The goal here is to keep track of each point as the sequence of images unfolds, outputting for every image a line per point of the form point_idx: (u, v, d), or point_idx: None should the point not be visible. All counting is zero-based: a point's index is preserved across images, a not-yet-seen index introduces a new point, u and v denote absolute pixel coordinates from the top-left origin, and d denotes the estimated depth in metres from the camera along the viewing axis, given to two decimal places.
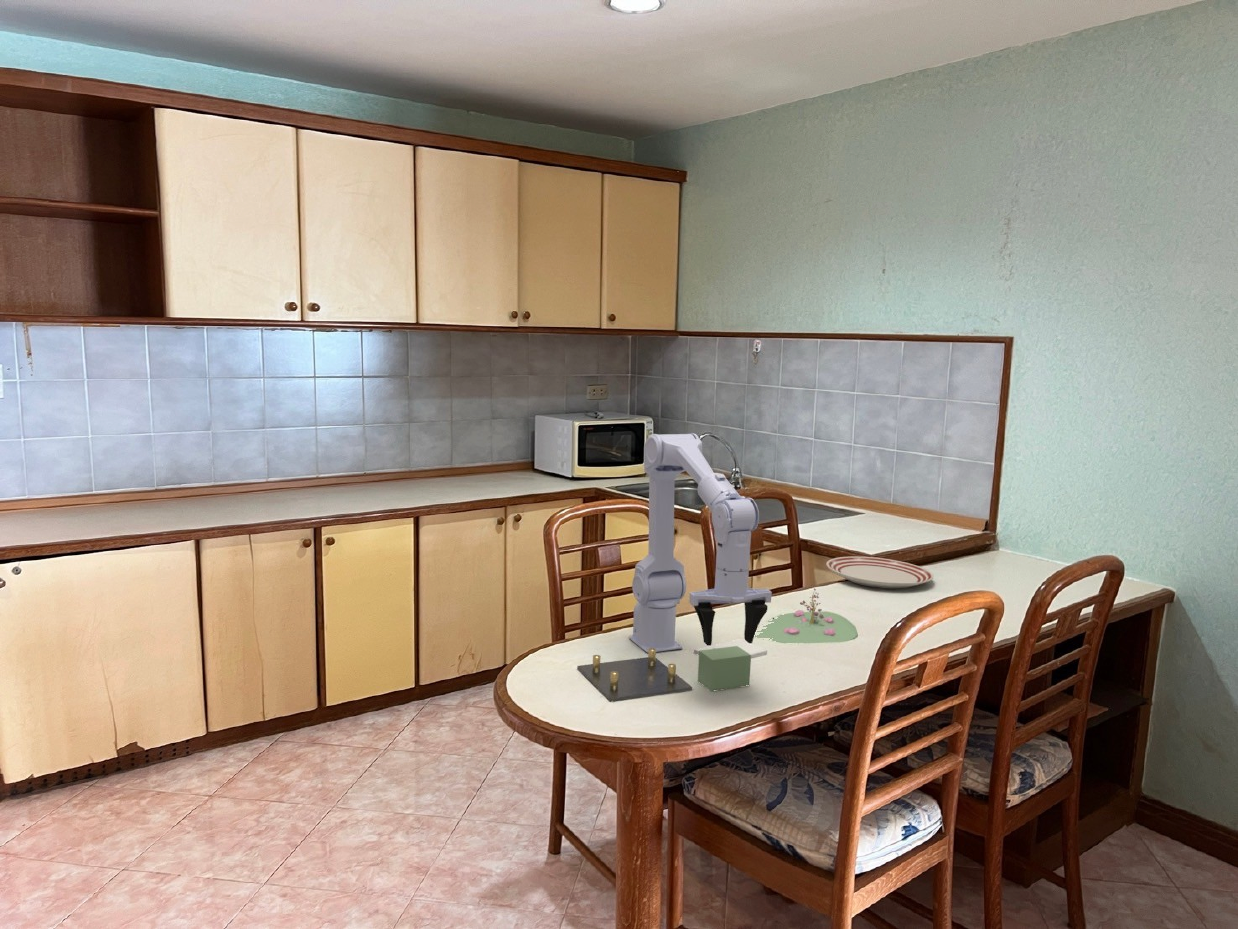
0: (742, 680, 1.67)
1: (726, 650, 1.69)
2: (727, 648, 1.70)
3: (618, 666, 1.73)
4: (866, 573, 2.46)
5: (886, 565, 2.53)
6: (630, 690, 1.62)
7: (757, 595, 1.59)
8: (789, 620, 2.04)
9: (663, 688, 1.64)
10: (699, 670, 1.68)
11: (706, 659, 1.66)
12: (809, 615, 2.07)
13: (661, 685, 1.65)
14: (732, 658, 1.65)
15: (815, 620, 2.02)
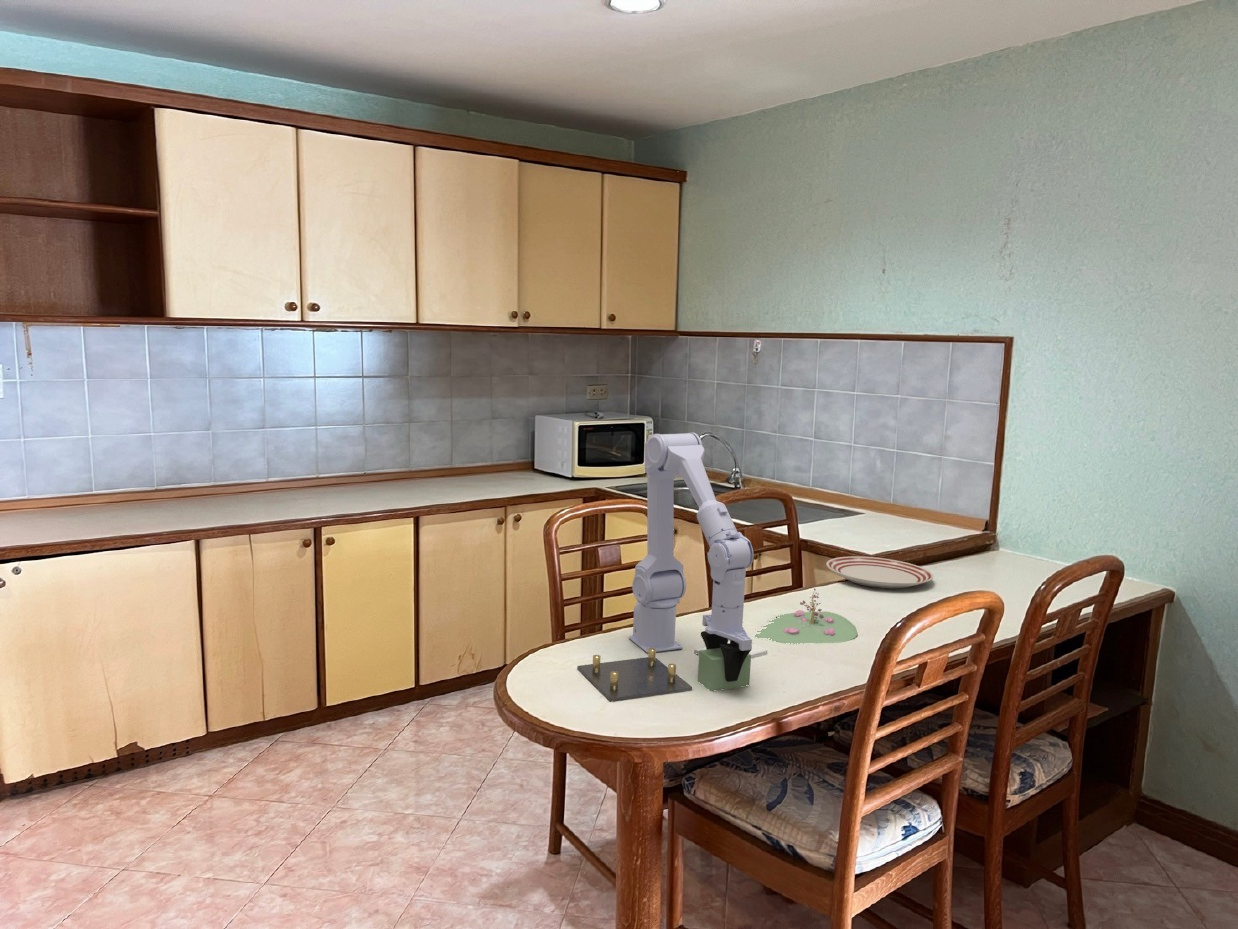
0: (742, 680, 1.67)
1: None
2: None
3: (618, 666, 1.73)
4: (866, 573, 2.46)
5: (886, 565, 2.53)
6: (630, 690, 1.62)
7: (730, 636, 1.62)
8: (789, 620, 2.04)
9: (663, 688, 1.64)
10: (699, 670, 1.68)
11: (706, 659, 1.66)
12: (809, 615, 2.07)
13: (661, 685, 1.65)
14: None
15: (815, 620, 2.02)
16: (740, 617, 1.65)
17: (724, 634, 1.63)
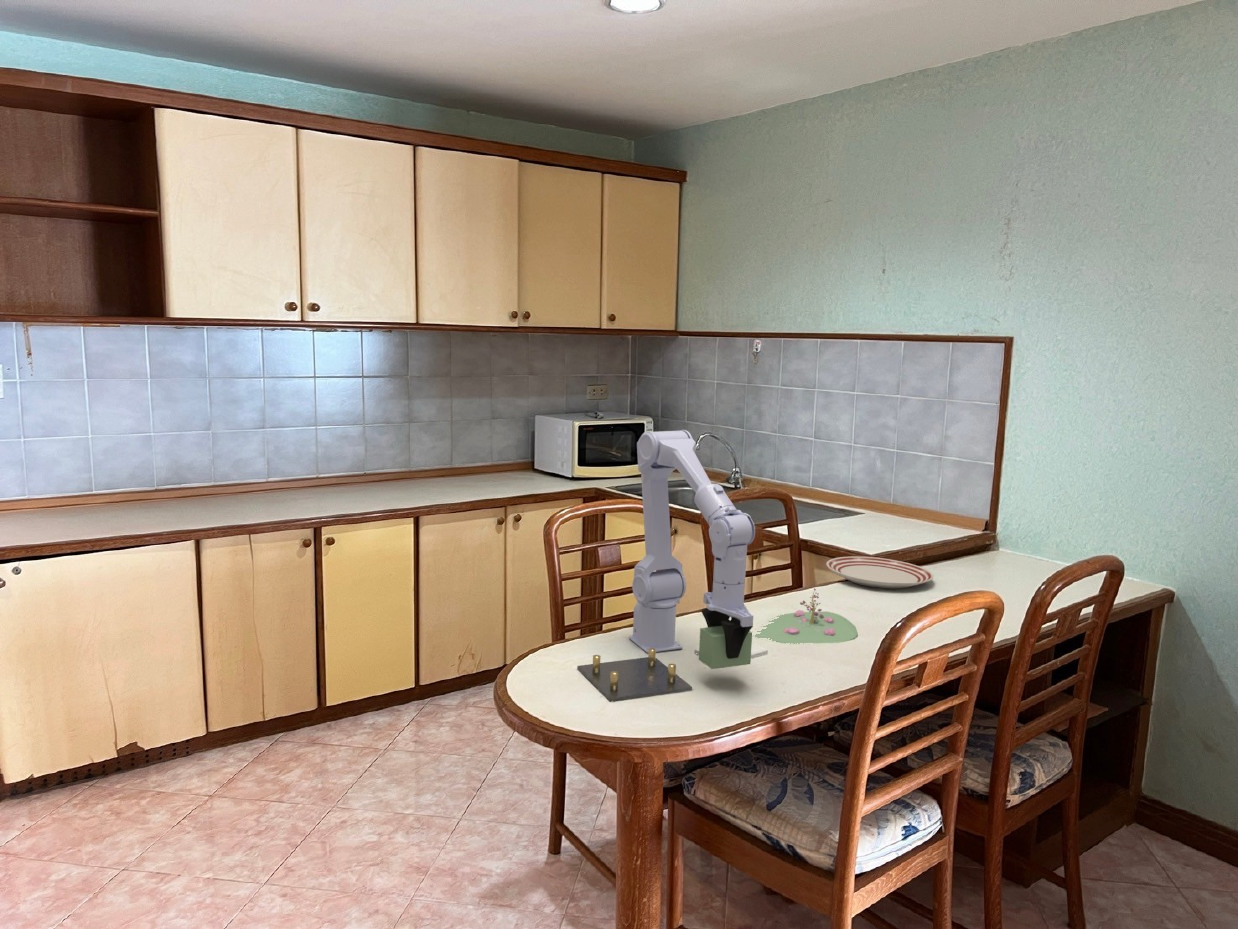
0: (743, 657, 1.66)
1: None
2: None
3: (618, 666, 1.73)
4: (866, 573, 2.46)
5: (886, 565, 2.53)
6: (630, 690, 1.62)
7: (731, 613, 1.62)
8: (789, 620, 2.04)
9: (663, 688, 1.64)
10: (700, 648, 1.68)
11: (707, 637, 1.65)
12: (809, 615, 2.07)
13: (661, 685, 1.65)
14: None
15: (815, 620, 2.02)
16: (742, 594, 1.64)
17: (725, 611, 1.63)
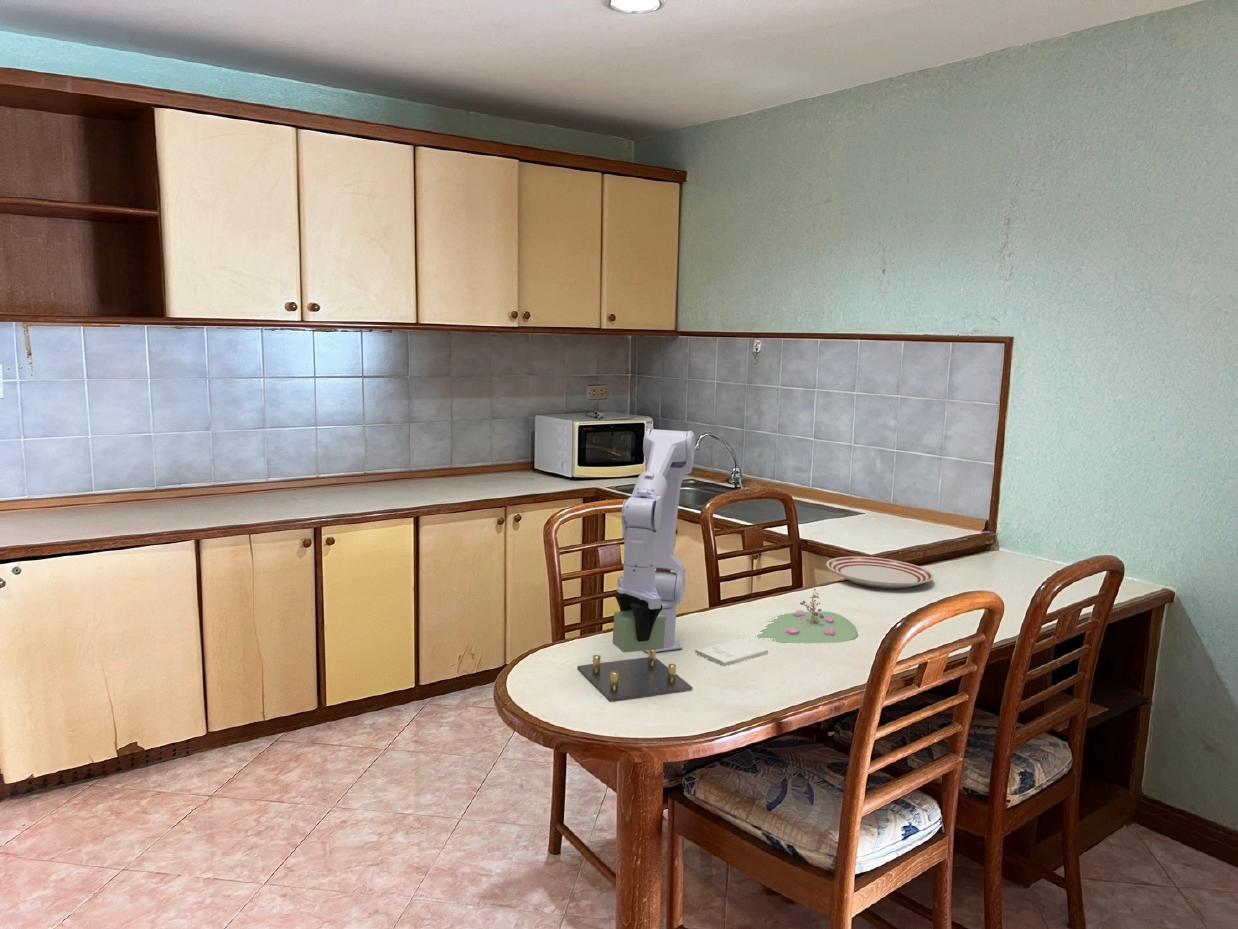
0: (656, 641, 1.66)
1: None
2: None
3: (618, 666, 1.73)
4: (866, 573, 2.46)
5: (886, 565, 2.53)
6: (630, 690, 1.62)
7: (640, 595, 1.62)
8: (790, 620, 2.04)
9: (663, 688, 1.64)
10: (614, 631, 1.68)
11: (620, 620, 1.65)
12: (809, 615, 2.07)
13: (661, 685, 1.65)
14: None
15: (815, 620, 2.02)
16: (651, 577, 1.64)
17: (634, 593, 1.63)
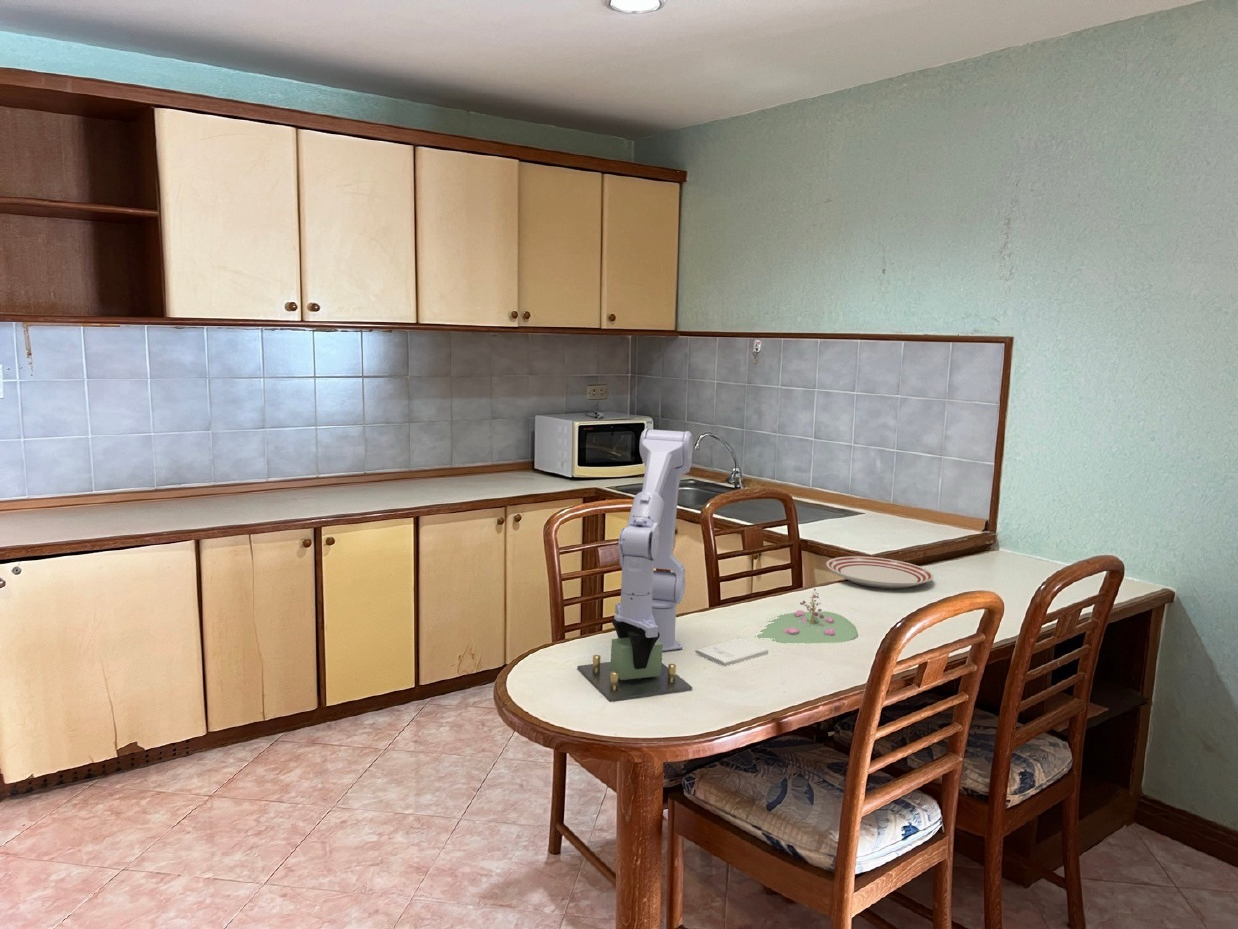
0: (653, 669, 1.67)
1: None
2: None
3: None
4: (866, 573, 2.46)
5: (886, 565, 2.53)
6: (630, 690, 1.62)
7: (637, 624, 1.62)
8: (790, 620, 2.04)
9: (663, 688, 1.64)
10: (611, 658, 1.69)
11: (617, 647, 1.66)
12: (809, 615, 2.07)
13: (661, 685, 1.65)
14: None
15: (815, 620, 2.02)
16: (649, 605, 1.65)
17: (631, 621, 1.63)
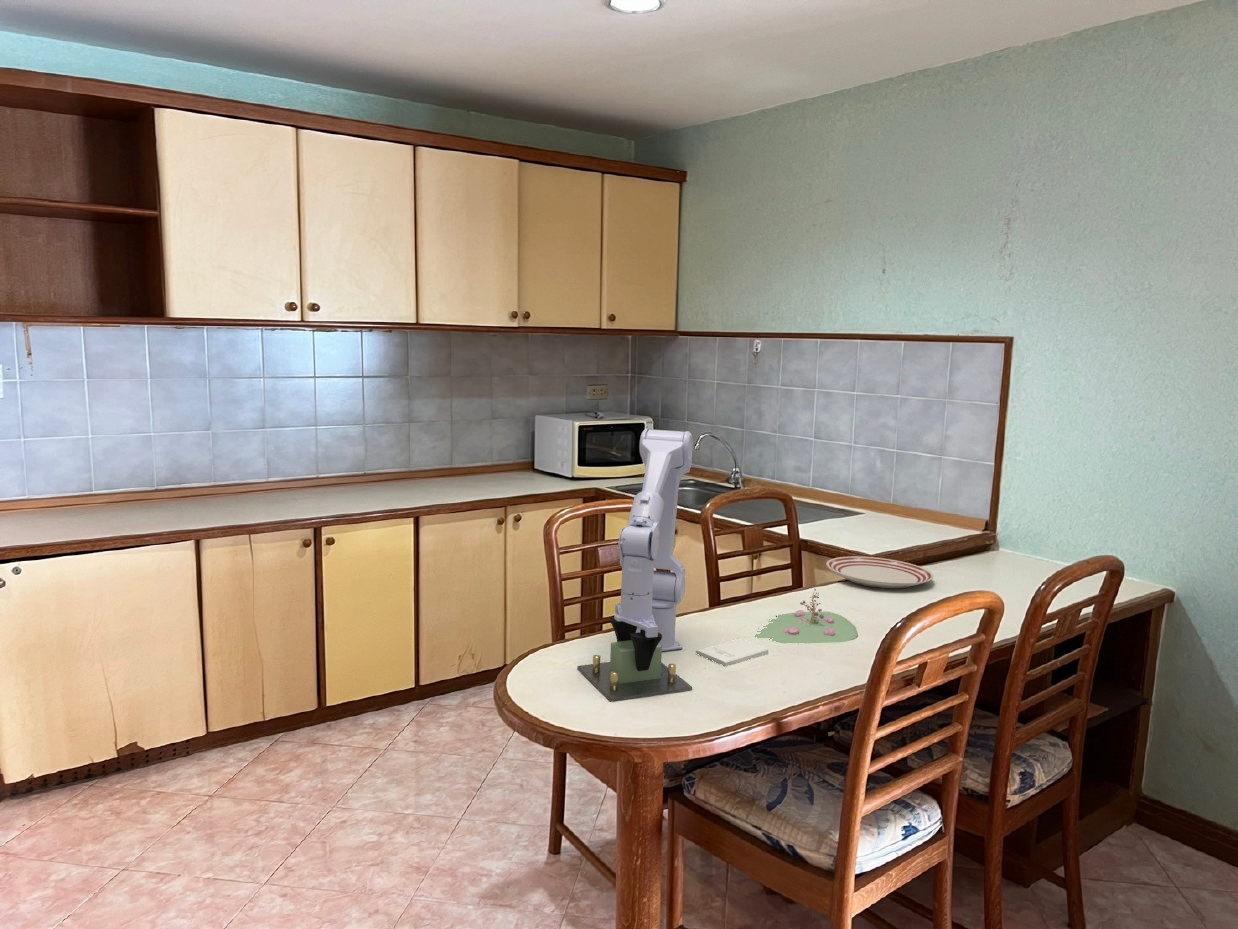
0: (653, 671, 1.67)
1: None
2: None
3: None
4: (866, 573, 2.46)
5: (886, 565, 2.53)
6: (630, 690, 1.62)
7: (637, 624, 1.62)
8: (790, 620, 2.04)
9: (663, 688, 1.64)
10: (611, 662, 1.69)
11: (617, 651, 1.66)
12: (809, 615, 2.07)
13: (661, 685, 1.65)
14: None
15: (815, 620, 2.02)
16: (649, 605, 1.65)
17: (631, 621, 1.63)
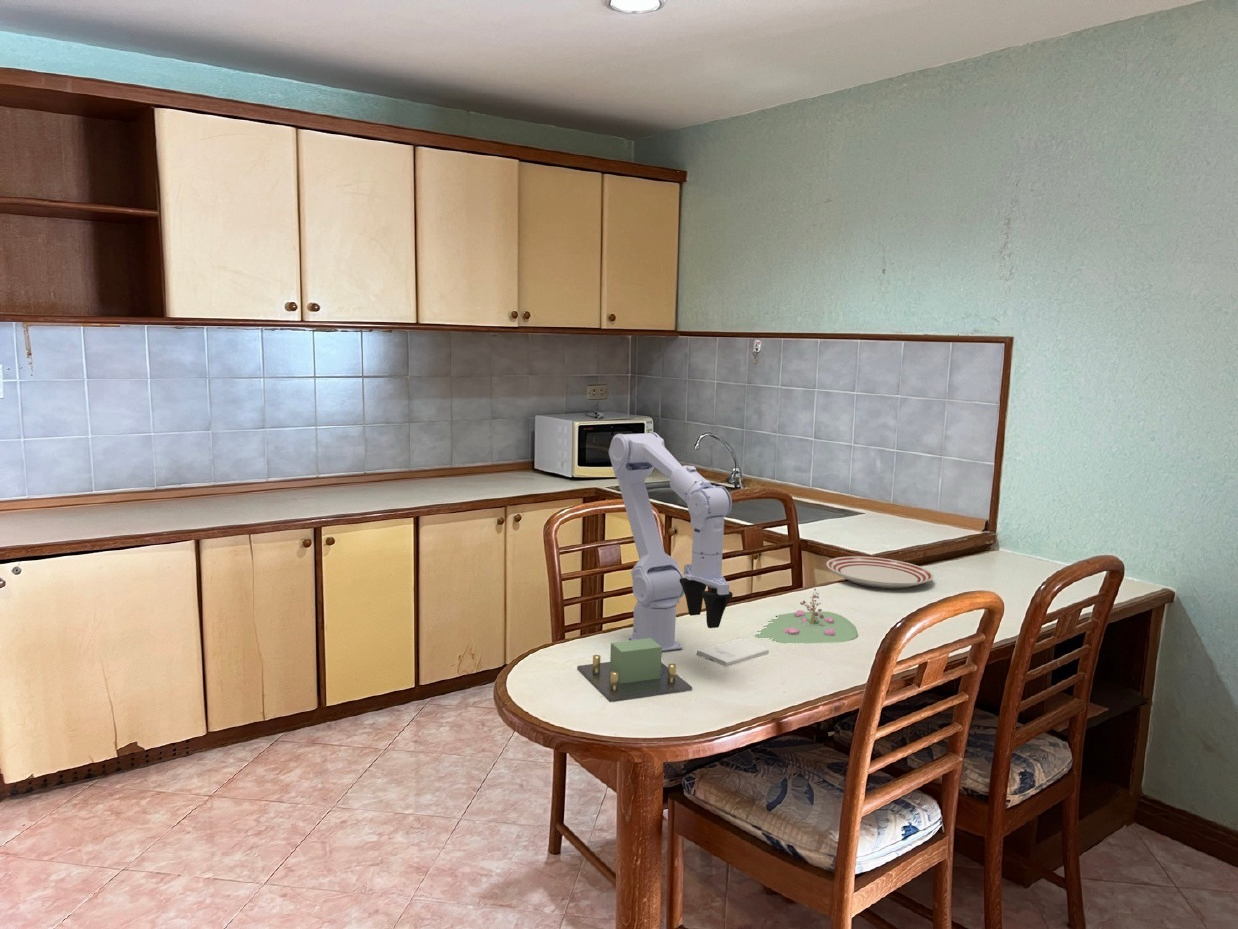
0: (653, 671, 1.67)
1: (638, 642, 1.69)
2: (639, 640, 1.70)
3: None
4: (866, 573, 2.46)
5: (886, 565, 2.53)
6: (630, 690, 1.62)
7: (708, 582, 1.68)
8: (790, 620, 2.04)
9: (663, 688, 1.64)
10: (611, 662, 1.69)
11: (617, 651, 1.66)
12: (809, 615, 2.07)
13: (661, 685, 1.65)
14: (642, 650, 1.66)
15: (815, 620, 2.02)
16: (719, 564, 1.70)
17: (703, 580, 1.69)
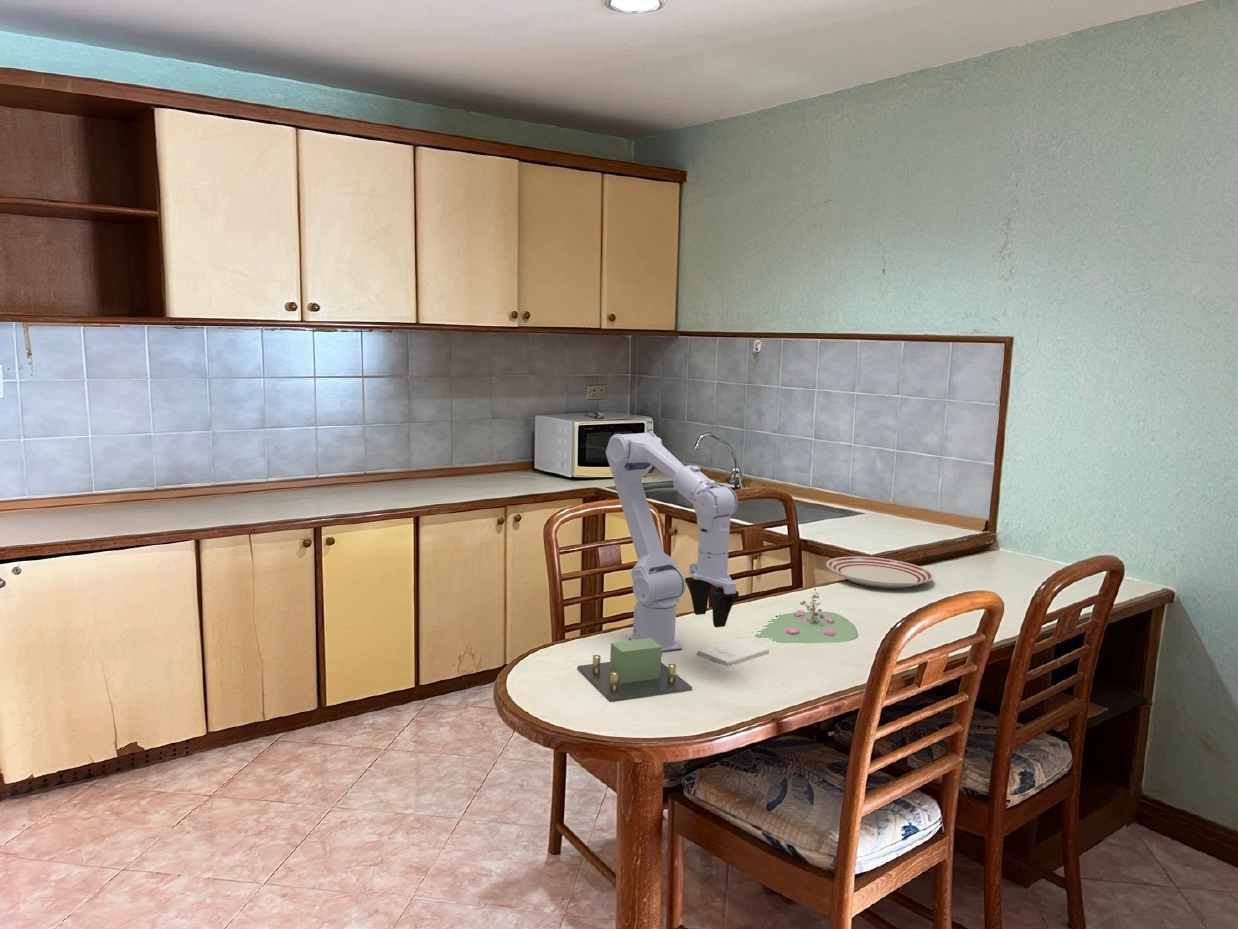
0: (653, 671, 1.67)
1: (638, 642, 1.69)
2: (639, 640, 1.70)
3: None
4: (866, 573, 2.46)
5: (886, 565, 2.53)
6: (630, 690, 1.62)
7: (715, 581, 1.69)
8: (790, 620, 2.04)
9: (663, 688, 1.64)
10: (611, 662, 1.69)
11: (617, 651, 1.66)
12: (809, 615, 2.07)
13: (661, 685, 1.65)
14: (642, 650, 1.66)
15: (815, 620, 2.02)
16: (725, 564, 1.71)
17: (709, 579, 1.70)
